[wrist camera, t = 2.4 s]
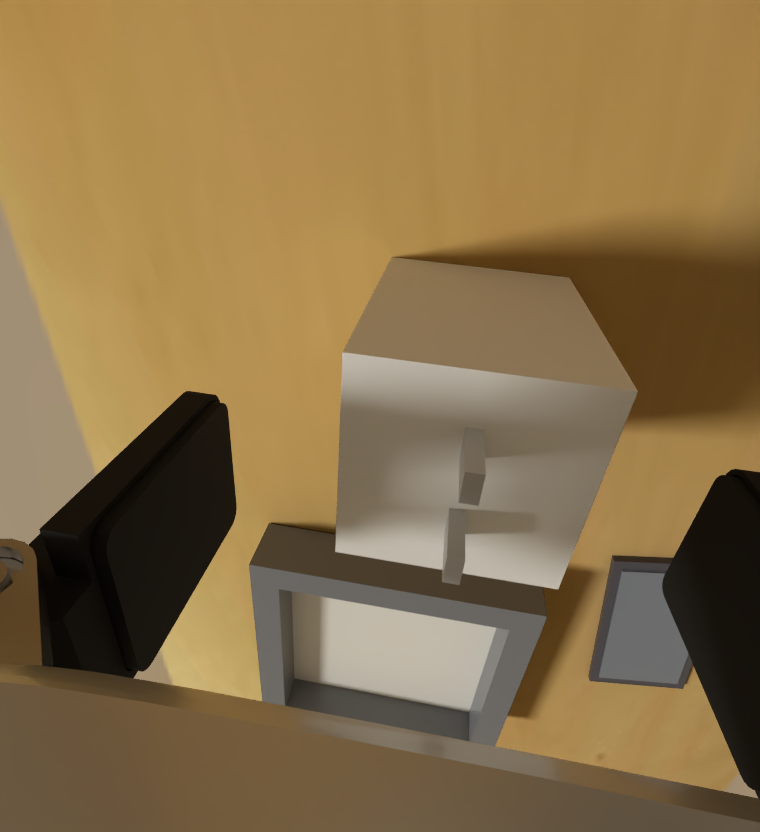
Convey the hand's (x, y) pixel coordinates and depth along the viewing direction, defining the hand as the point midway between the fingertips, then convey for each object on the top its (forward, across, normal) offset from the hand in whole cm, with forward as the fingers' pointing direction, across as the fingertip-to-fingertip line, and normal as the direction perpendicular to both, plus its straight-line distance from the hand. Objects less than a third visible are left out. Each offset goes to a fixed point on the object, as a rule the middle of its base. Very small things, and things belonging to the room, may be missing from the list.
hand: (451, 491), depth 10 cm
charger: (+5, 0, -1) cm, 5 cm away
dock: (+6, +1, +12) cm, 13 cm away
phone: (+6, -9, +9) cm, 14 cm away
